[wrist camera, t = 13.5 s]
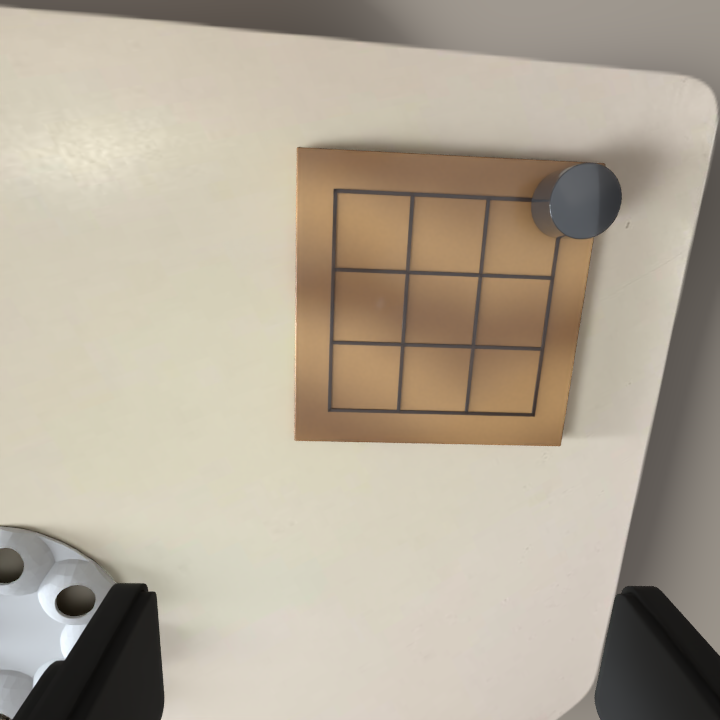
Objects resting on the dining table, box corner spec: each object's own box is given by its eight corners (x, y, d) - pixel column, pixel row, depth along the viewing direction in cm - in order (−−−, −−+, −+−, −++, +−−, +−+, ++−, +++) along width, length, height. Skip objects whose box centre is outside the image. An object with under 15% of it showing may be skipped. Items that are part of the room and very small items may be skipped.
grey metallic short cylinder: (535, 166, 31) (555, 160, 28) (601, 170, 32) (628, 164, 29) (526, 237, 32) (545, 237, 30) (590, 240, 33) (615, 240, 30)
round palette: (183, 655, 41) (175, 676, 40) (5, 756, 43) (-11, 780, 42) (24, 482, 37) (6, 496, 35) (-167, 603, 39) (-194, 623, 37)
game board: (298, 150, 32) (296, 146, 30) (596, 165, 33) (607, 162, 31) (295, 434, 37) (294, 441, 35) (554, 440, 38) (561, 447, 37)
